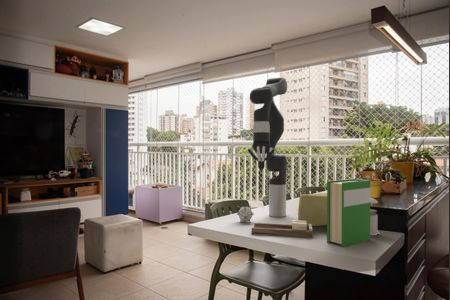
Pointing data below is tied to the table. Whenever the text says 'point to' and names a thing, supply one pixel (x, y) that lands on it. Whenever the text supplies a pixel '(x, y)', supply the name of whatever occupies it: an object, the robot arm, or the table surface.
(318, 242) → the table surface
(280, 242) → the table surface
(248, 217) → the grey bumpy ball
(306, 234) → the chute
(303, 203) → the cheese
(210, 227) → the table surface
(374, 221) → the french press
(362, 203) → the hardback book
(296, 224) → the maple block
